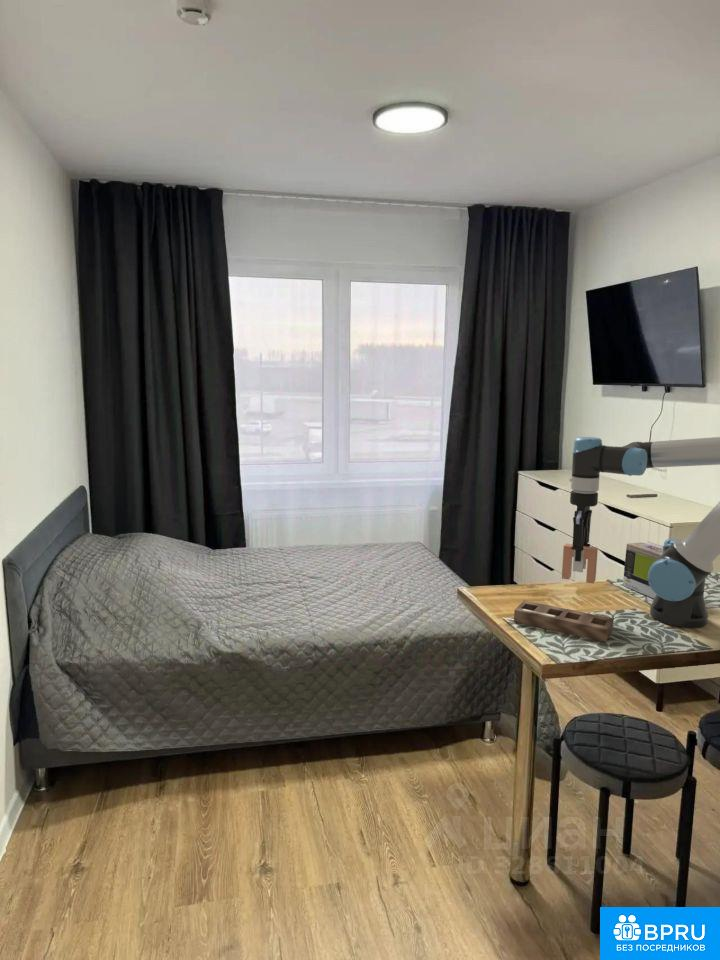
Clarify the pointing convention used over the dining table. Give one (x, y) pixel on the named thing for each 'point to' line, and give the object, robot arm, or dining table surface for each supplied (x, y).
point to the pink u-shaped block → (589, 554)
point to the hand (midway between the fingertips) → (579, 569)
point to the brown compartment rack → (564, 620)
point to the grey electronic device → (640, 566)
